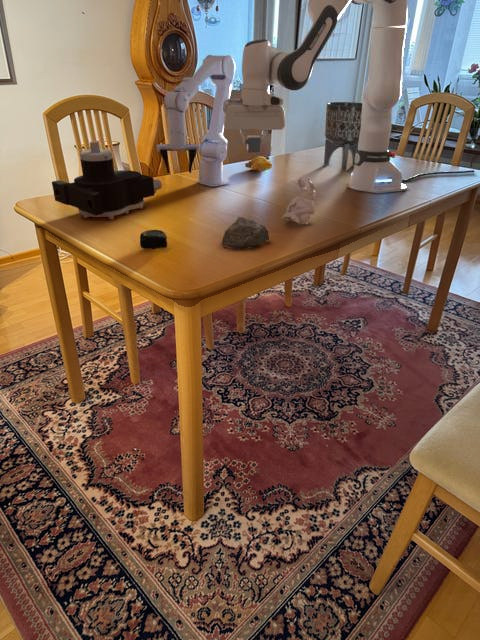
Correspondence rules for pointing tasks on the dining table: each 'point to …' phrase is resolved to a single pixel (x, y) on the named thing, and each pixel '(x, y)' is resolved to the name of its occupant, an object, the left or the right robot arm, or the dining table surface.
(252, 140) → the brick
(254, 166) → the toy
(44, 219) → the dining table surface
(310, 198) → the figurine
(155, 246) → the tape measure
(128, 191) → the mechanical component
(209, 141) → the left robot arm
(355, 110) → the planter
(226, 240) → the rock
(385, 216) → the dining table surface
